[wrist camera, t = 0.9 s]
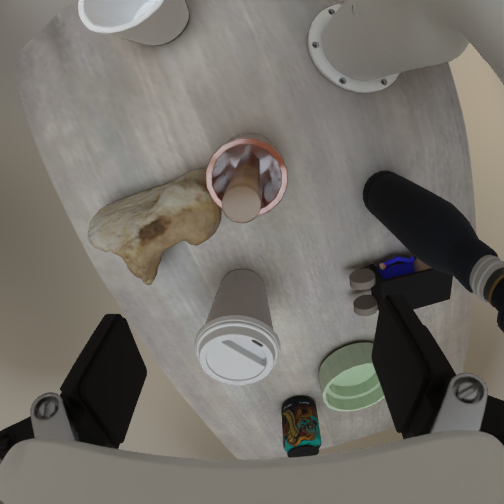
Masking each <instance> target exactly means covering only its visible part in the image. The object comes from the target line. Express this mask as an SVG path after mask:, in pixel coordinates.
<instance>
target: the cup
mask: <svg viewBox="0 0 504 504" xmlns="http://www.w3.org/2000/svg"><path fill="white" fill-rule="evenodd" d="M78 9H79V16H80V18H81V20H82V22H83V24H84V25H85V26H86V27H87V28H88V29H89V30H92V31H95V32H99V33H103V34H107V35H111V36H115V37H119V38H123V39H127V40H131V41H134V42H138V43H141V44H145V45H150V46H157V45H162V44H165V43H168V42H170V41H171V40H173V39H175V38H176V37H177V36H179V35H180V34H181V33H182V32H183V30H184V28H185V26H186V24H187V22H188V19H189V12H188V8H187V5H186V2H185V0H79V3H78Z"/></svg>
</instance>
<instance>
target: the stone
mask: <svg viewBox="0 0 504 504" xmlns="http://www.w3.org/2000/svg"><path fill="white" fill-rule="evenodd" d="M220 221H221V208H220V207H219V206H218V205H217V204H216V203H215V202H214V201H213V200H212V198H211V195H210V193H209V191H208V189H207V186H206V169H196V170H193V171H191V172H189V173H187V174H185V175H183V176H181V177H179V178H177V179H176V180H174V181H173V182H170V183H167V184H164V185H162V186H159V187H156V188H153V189H148V190H145V191H143V192H140V193H137V194H135V195H132V196H130V197H127V198H124V199H121V200H118V201H116V202H114V203H111V204H108V205H106V206H105V207H103V208H102V209H100V210H99V211H98V212H97V213H96V215H95V216H94V217H93V218H92V220H91V222H90V226H89V230H88V238H89V242H90V243H91V244H92V245H93V246H94V247H96V248H98V249H100V250H102V251H105V252H107V251H110V252H112V253H114V254H117V255H119V256H120V257H122V258H123V260H124V261H125V262H126V264H127V267H128V269H129V270H130V271H131V272H132V273H133V274H134V275H135V276H136V277H138V278H141V279H142V280H143V282H144V283H145V284H147V285H151V284H152V282H153V280H154V279H155V277H156V275H157V270H158V266H159V264H160V261H161V256H162V254H163V252H164V251H165V250H166V249H168V248H170V247H172V246H174V245H175V244H177V243H178V242H180V241H187V242H188V243H189V244H191V245H199V244H201V243H202V242H204V241H206V240H207V239H209V238H210V237H211V236H212V235H213V234H214V233H215V232H216V230H217V228H218V226H219V224H220Z"/></svg>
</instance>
